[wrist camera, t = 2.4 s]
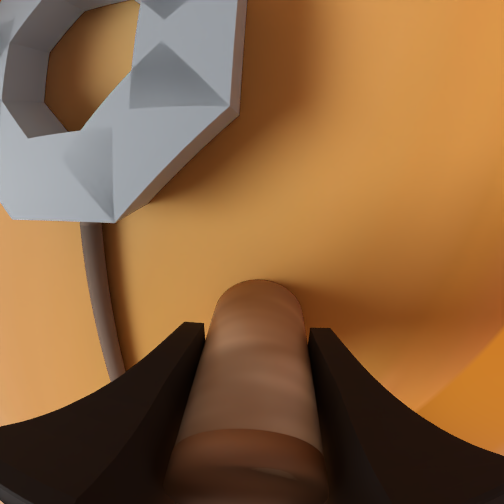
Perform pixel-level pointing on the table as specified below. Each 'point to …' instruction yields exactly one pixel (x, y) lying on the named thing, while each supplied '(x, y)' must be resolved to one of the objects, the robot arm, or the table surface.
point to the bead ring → (114, 107)
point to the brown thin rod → (101, 296)
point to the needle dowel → (251, 408)
